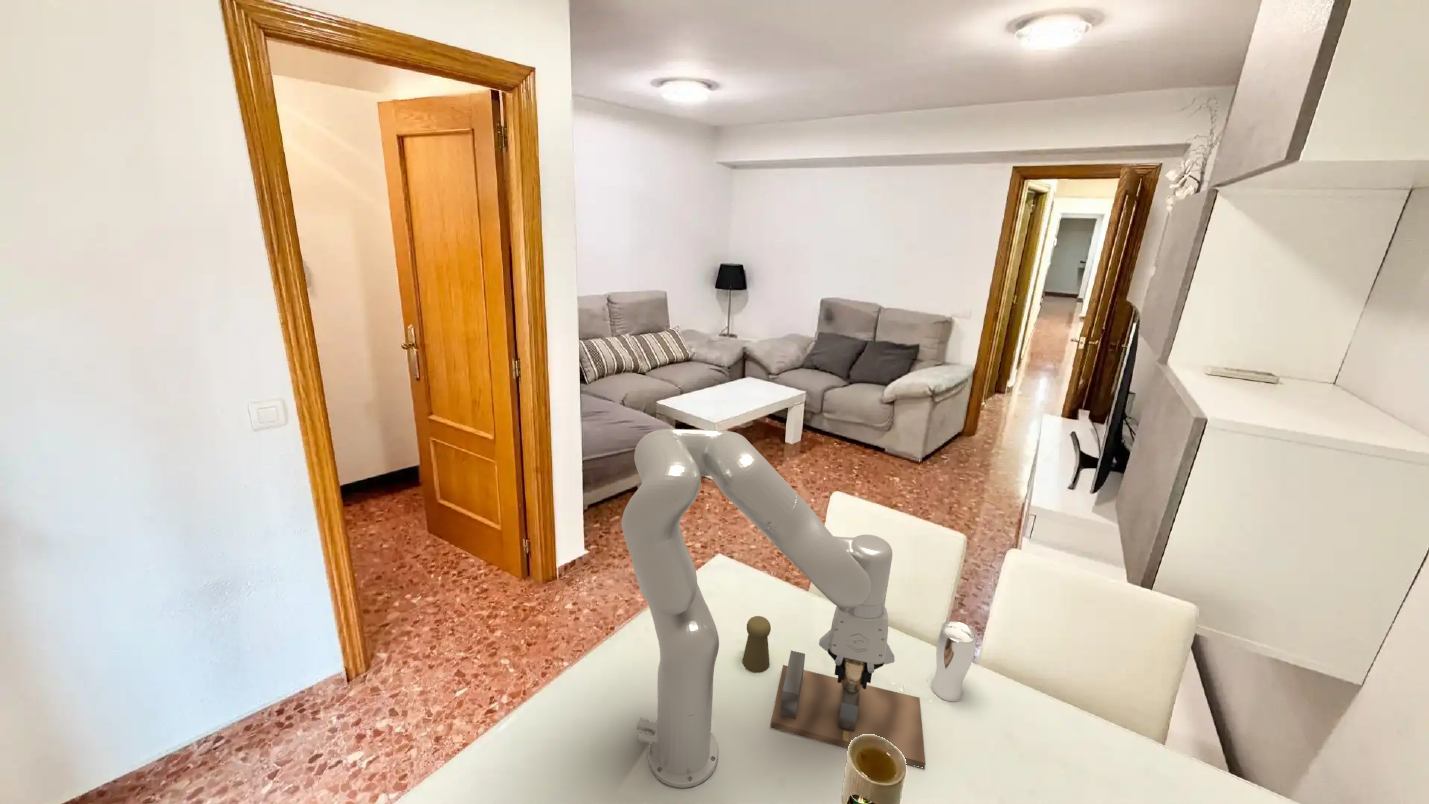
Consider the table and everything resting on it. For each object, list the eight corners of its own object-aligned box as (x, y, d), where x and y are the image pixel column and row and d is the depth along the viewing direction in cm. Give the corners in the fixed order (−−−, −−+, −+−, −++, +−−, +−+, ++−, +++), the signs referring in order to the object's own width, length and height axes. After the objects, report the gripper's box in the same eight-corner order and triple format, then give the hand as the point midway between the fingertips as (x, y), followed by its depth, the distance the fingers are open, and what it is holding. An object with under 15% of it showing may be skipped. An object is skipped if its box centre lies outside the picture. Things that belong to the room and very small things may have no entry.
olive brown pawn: (768, 675, 118) (771, 633, 115) (740, 670, 119) (743, 628, 116) (771, 655, 124) (774, 614, 120) (744, 650, 125) (747, 609, 121)
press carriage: (835, 726, 104) (842, 675, 101) (839, 686, 113) (845, 638, 110) (857, 732, 103) (865, 681, 100) (859, 691, 112) (866, 643, 109)
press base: (770, 727, 106) (773, 696, 103) (782, 670, 119) (785, 642, 117) (924, 769, 99) (930, 737, 96) (918, 703, 112) (924, 674, 110)
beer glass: (964, 684, 118) (977, 626, 113) (964, 708, 112) (977, 648, 107) (930, 673, 120) (941, 615, 116) (927, 696, 114) (939, 636, 110)
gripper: (815, 604, 99) (806, 684, 105) (912, 624, 95) (897, 707, 101) (819, 580, 106) (810, 656, 112) (910, 597, 102) (896, 676, 108)
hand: (852, 679), depth 106 cm, fingers closed on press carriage, 4 cm apart
